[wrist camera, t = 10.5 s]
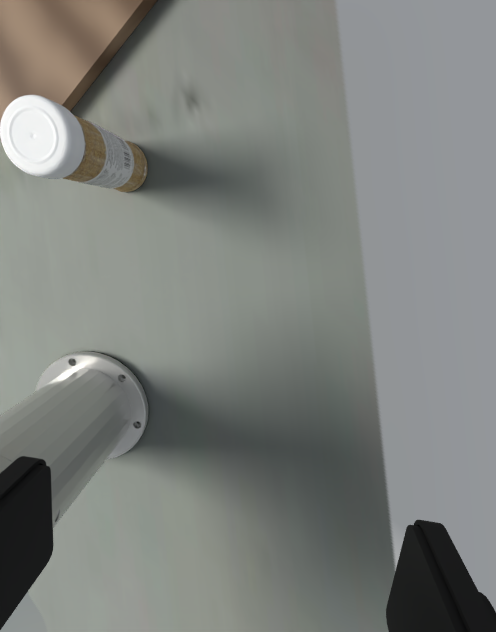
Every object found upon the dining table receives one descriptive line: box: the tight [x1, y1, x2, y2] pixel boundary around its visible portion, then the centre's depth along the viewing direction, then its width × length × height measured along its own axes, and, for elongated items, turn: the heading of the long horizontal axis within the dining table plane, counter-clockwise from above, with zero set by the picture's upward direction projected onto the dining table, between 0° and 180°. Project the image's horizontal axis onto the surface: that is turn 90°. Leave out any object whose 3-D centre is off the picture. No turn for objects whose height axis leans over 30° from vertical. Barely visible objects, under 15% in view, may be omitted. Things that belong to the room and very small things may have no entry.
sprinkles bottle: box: [0, 95, 148, 192], centre depth 29 cm, size 5×5×14 cm
